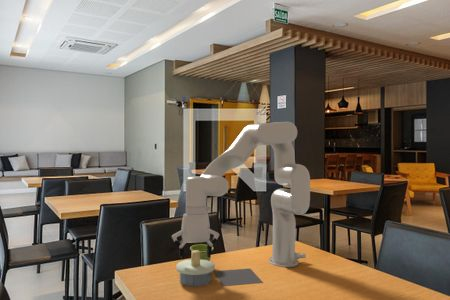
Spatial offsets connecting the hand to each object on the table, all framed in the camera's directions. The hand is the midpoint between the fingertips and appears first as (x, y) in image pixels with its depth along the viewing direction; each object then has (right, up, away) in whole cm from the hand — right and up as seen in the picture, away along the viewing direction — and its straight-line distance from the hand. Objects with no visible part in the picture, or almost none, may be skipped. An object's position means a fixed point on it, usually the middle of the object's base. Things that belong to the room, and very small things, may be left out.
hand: (195, 257), depth 130 cm
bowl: (0, -9, 0) cm, 9 cm away
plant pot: (+1, -9, +13) cm, 16 cm away
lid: (0, -4, 0) cm, 4 cm away
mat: (+15, -9, +4) cm, 18 cm away
